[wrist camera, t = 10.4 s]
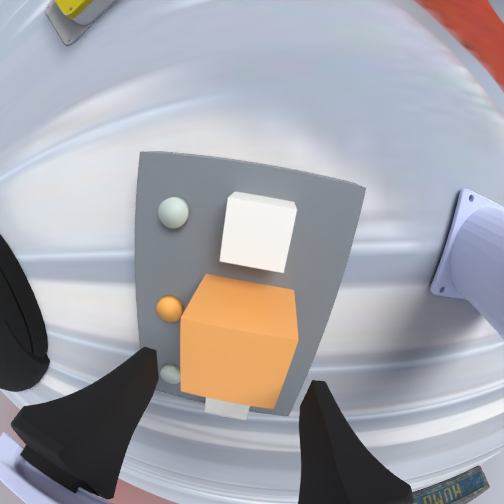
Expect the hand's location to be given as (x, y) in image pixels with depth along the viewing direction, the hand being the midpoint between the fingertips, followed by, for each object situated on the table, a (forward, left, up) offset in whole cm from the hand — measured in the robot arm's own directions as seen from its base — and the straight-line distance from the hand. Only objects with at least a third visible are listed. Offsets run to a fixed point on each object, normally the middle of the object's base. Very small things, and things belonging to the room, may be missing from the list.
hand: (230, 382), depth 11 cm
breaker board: (+1, 0, -8) cm, 8 cm away
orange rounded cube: (0, 0, -5) cm, 5 cm away
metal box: (-56, +57, -8) cm, 81 cm away
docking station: (+39, +16, -8) cm, 43 cm away
